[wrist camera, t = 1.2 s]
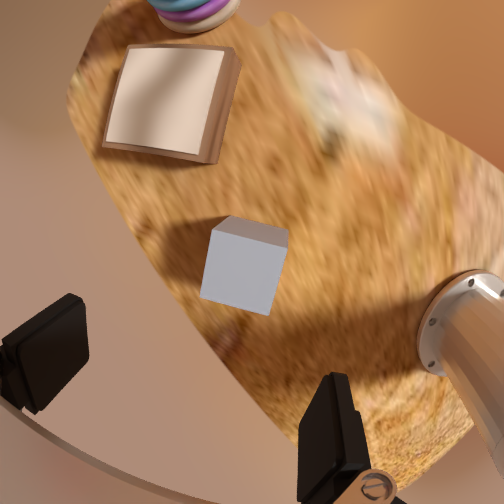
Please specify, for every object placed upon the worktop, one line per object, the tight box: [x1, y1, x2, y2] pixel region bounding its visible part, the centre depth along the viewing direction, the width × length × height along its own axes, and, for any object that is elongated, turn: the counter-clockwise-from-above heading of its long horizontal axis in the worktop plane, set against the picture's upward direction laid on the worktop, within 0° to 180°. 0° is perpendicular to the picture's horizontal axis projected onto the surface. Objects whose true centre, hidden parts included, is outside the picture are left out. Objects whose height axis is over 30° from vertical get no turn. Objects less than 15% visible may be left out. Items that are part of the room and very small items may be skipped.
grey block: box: [200, 215, 288, 316], centre depth 22 cm, size 5×5×6 cm
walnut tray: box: [102, 44, 242, 164], centre depth 20 cm, size 9×9×4 cm
